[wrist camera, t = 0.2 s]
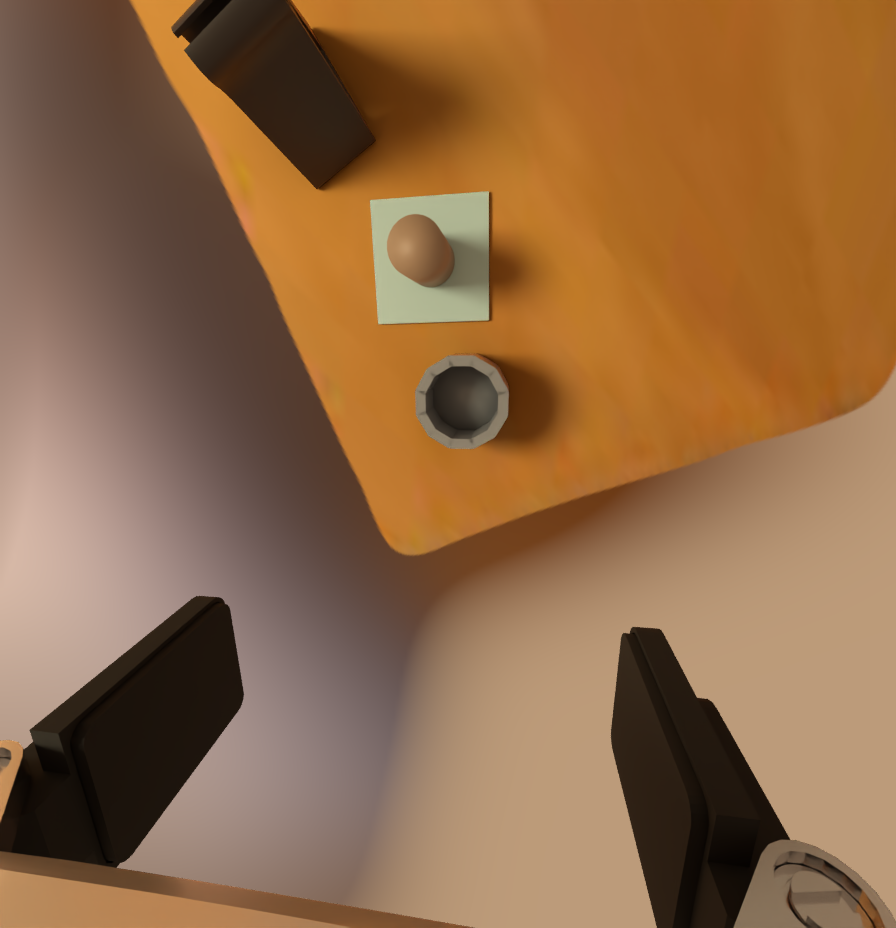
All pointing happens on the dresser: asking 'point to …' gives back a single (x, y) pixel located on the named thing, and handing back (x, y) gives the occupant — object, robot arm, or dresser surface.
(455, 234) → the lid
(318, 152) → the phone stand
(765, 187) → the dresser surface
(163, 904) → the robot arm
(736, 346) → the dresser surface
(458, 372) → the cup
